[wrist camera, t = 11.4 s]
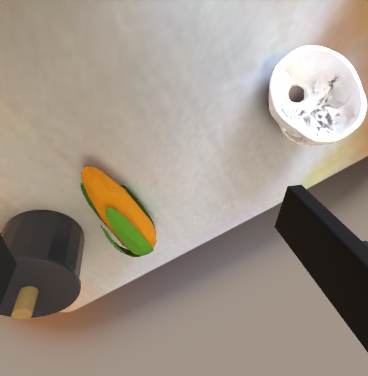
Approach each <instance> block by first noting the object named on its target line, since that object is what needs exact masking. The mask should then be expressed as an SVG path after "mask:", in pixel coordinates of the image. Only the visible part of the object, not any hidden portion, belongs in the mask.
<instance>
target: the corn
mask: <svg viewBox="0 0 368 376" xmlns="http://www.w3.org/2000/svg"><path fill="white" fill-rule="evenodd" d="M81 174H82V181H83V183H81V189H82V191H83V194H84V196H85V198H86V200H87V201H88V203H89V205H90V206H91V207H92V209H93V210H94V211H95V213H96V214H97V215H98V217H99V218H100V219H101V220H102V221H103V223H104V224H105V225H106V226H107V227H108V228H109V229H110V230H111V231H112V233H113V234H114V235H115V236H116V237H117V239H118V240H119V241H120V242H121V243H122V245H124V246H125V247H127V248H128V249H129V250H128V249H125V248H123V247H120V246H119V245H118V244H117V243H115V242H114V241H113V240H112V238H111V237H110V236H109V234H108V233H107V231H106V230H105V229H104V228H103V227H102V226H101V225H100V226H101V228H102V229H103V231H104V233H105V234H106V236H107V238H108V239H109V241H110V242H111V243H112V244H113V245H114V247H115V248H116V249H117V250H119V251H120V252H122V253H124V254H127V255H129V256H132V257H140V256H142V255H146V254H149V253H150V252H152V251H153V250H154V249H153V247H154V245H155V244H156V231H155V227H154V224H153V221H152V219H151V218H150V216H149V215H148V213H147V212H146V210H145V209H144V207H143V205H142V204H141V203H140V202H139V201H138V200H137V198H136V197H135V196H134V195H133V194H132V193H131V192H130V191H129V190H128V189H127V188H126V187H125V186H122V185H119V184H117V183H116V182H115V181H113V180H112V179H111V178H110V177H108V176H107V175H106V174H104V173H103V172H102V171H100V170H99V169H97V168H94V167H91V166H87V167H84V169H83V170H82V172H81Z"/></svg>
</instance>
